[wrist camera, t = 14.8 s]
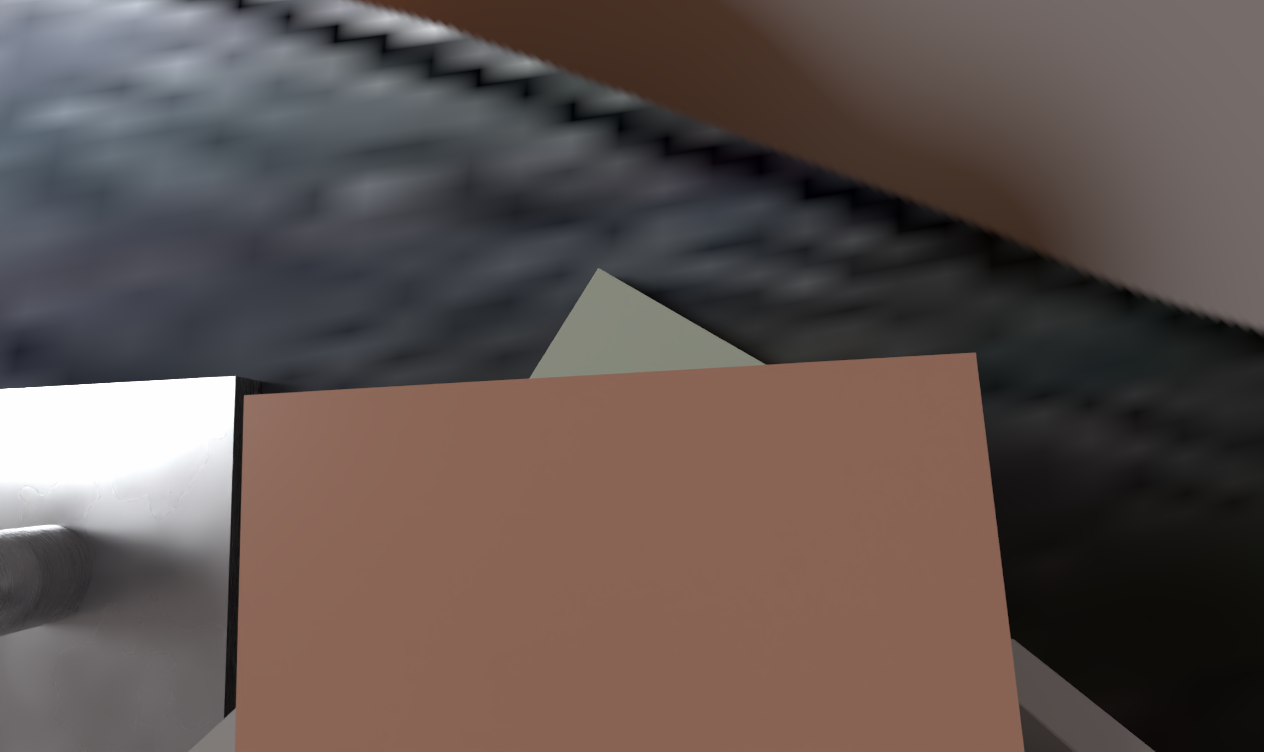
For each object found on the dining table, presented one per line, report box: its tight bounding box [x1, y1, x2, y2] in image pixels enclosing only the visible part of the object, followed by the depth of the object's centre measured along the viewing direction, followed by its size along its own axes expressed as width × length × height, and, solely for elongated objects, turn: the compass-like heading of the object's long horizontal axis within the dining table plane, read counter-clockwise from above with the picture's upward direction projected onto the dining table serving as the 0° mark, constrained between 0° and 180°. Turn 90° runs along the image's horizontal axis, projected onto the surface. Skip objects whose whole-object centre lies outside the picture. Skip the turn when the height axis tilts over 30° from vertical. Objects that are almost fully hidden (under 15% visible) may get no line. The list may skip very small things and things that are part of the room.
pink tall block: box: [235, 353, 1024, 752], centre depth 10 cm, size 6×6×10 cm
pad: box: [529, 268, 765, 379], centre depth 19 cm, size 12×12×1 cm
